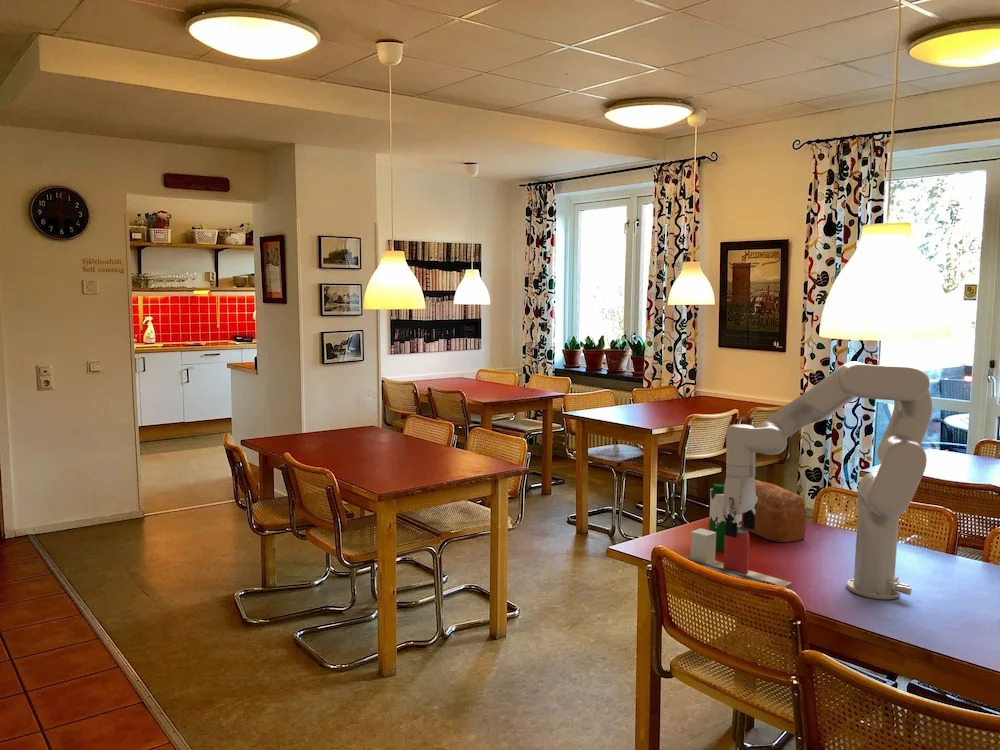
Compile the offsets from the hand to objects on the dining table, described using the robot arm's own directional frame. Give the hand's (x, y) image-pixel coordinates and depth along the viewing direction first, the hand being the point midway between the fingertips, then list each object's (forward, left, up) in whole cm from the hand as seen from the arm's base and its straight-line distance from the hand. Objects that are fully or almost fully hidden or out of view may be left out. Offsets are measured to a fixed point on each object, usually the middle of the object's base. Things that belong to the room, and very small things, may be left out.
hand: (740, 532), depth 207 cm
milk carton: (+14, -17, -13) cm, 25 cm away
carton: (+11, 0, -11) cm, 16 cm away
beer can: (+1, 0, -12) cm, 12 cm away
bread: (+15, -46, -13) cm, 50 cm away
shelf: (+1, 0, -12) cm, 12 cm away
